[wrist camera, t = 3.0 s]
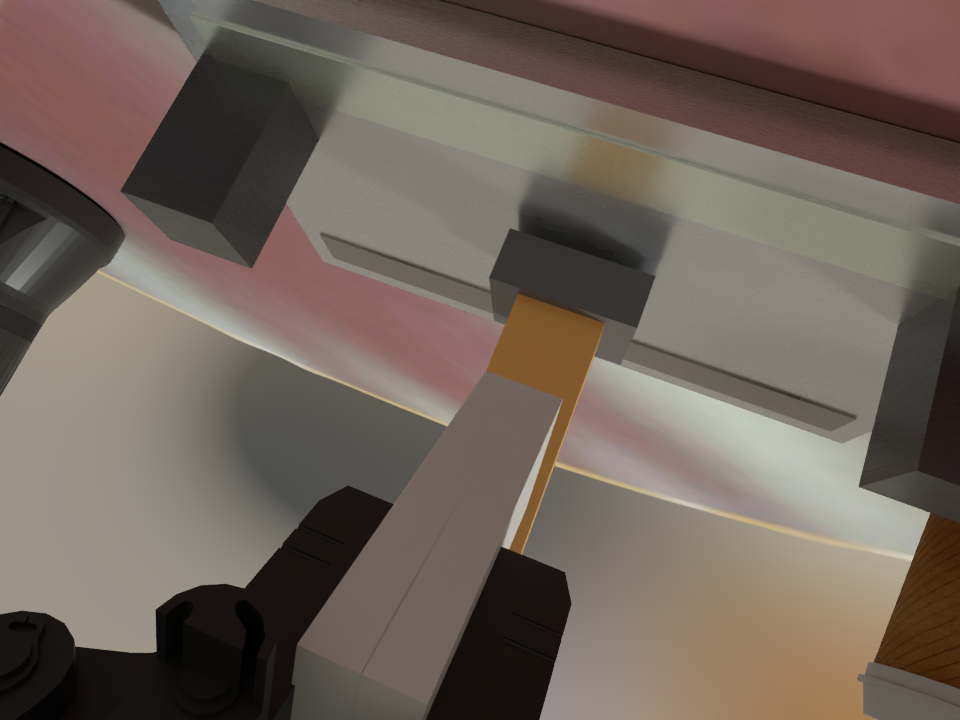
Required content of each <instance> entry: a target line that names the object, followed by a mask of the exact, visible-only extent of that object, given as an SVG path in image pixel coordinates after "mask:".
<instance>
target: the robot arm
mask: <svg viewBox="0 0 960 720" xmlns="http://www.w3.org/2000/svg"><path fill="white" fill-rule="evenodd" d="M124 239H125V234H124V232H123V230H122V229H121V228H120V226H119V225H118V224H117V223H116V222H115V221H114V220H113V219H112V218H111V217H110V216H109V215H107V214H106V213H105V212H104V211H103V210H101V209H100V208H99V207H98V206H96V205H95V204H94V203H92V202H91V201H90V200H88V199H87V198H86V197H84V196H83V195H81V194H80V193H78V192H77V191H75V190H74V189H72V188H71V187H70V186H68V185H66V184H65V183H63V182H62V181H60V180H59V179H57V178H55V177H54V176H52V175H51V174H49V173H47V172H46V171H44V170H42V169H41V168H39V167H37V166H36V165H34V164H32V163H30V162H29V161H27V160H25V159H23V158H21V157H20V156H18V155H16V154H14V153H12V152H10V151H9V150H7V149H5V148H3V147H1V146H0V396H1V394H2V392H3V391H4V389H5V387H6V386H7V384H8V382H9V381H10V379H11V377H12V376H13V374H14V372H15V370H16V369H17V367H18V365H19V363H20V362H21V360H22V359H23V357H24V355H25V353H26V352H27V350H28V348H29V347H30V345H31V343H32V341H33V340H34V338H35V337H36V335H37V333H38V332H39V330H40V328H41V327H42V325H43V324H44V322H45V320H46V319H47V317H48V316H49V315H50V313H52V312H53V311H54V310H55V309H56V308H57V307H58V306H59V305H61V304H62V303H63V302H64V301H65V300H66V299H68V297H70V296H71V295H72V294H73V293H74V292H76V291H77V290H78V289H79V288H80V287H81V286H82V285H83V284H84V283H85V282H86V281H87V280H88V279H89V278H90V277H91V276H92V275H94V273H95V272H96V271H97V270H98V269H99V268H102V267H105V266H107V265H108V264H109V263H110V262H111V261H112V259H113V258H114V256H115V255H116V253H117V251H118V249H119V248H120V246H121V244H122V243H123V241H124ZM562 401H563V399H562V398H559V397H557V396H554V395H551V394H549V393H546V392H543V391H540V390H538V389H535V388H532V387H529V386H527V385H524V384H521V383H518V382H516V381H513V380H510V379H508V378H505V377H502V376H499V375H497V374H494V373H491V372H488V371H486V372H485V373H484V375H483V376H482V378H481V379H480V380H479V382H478V383H477V385H476V386H475V388H474V389H473V391H472V392H471V393H470V395H469V396H468V398H467V399H466V401H465V402H464V404H463V405H462V407H461V408H460V409H459V411H458V412H457V414H456V415H455V417H454V418H453V420H452V421H451V422H450V424H449V425H448V427H447V428H446V430H445V431H444V433H443V434H442V435H441V437H440V438H439V440H438V441H437V443H436V444H435V446H434V447H433V448H432V450H431V451H430V453H429V454H428V456H427V457H426V459H425V460H424V462H423V463H422V465H421V466H420V468H419V469H418V470H417V472H416V473H415V475H414V476H413V477H412V479H411V481H410V482H409V483H408V485H407V486H406V488H405V489H404V490H403V492H402V493H401V495H400V496H399V498H398V499H397V501H396V502H395V504H392V503H389V502H387V501H384V500H382V499H379V498H377V497H374V496H372V495H370V494H367V493H365V492H362V491H360V490H358V489H355V488H353V487H350V486H346V487H345V488H343V489H341V490H339V491H337V492H335V493H333V494H331V495H329V496H327V497H325V498H323V499H321V500H320V501H318V503H317V504H316V505H315V506H314V507H313V509H312V510H311V511H310V512H309V513H308V515H307V516H306V517H305V518H304V519H303V520H302V522H301V523H300V524H299V527H298V529H295V530H294V531H293V532H292V534H290V536H289V537H288V538H287V539H286V540H285V542H284V543H283V545H282V547H281V549H280V548H279V549H278V550H277V551H276V552H275V553H274V555H273V556H272V557H271V558H270V559H269V560H268V562H267V563H266V564H265V565H264V566H263V567H262V569H261V570H260V571H259V572H258V573H257V575H256V576H255V577H254V578H253V579H252V581H251V582H250V583H249V584H248V585H247V586H246V588H245V589H244V588H240V587H236V586H232V585H228V584H218V585H201V586H198V587H195V588H193V589H190V590H187V591H185V592H181V593H179V594H176V595H175V596H173V597H172V598H171V599H170V600H168V601H167V602H166V603H164V604H163V605H162V606H160V607H159V608H157V609H156V638H157V639H156V640H157V641H156V642H157V652H154V653H128V652H118V651H109V650H100V649H91V648H82V647H75V643H74V638H73V637H72V635H71V634H70V632H69V630H68V628H67V627H66V625H65V624H64V623H62V622H61V621H59V620H57V619H55V618H54V617H52V616H50V615H48V614H45V613H37V612H28V611H18V612H12V613H6V614H1V615H0V720H539V719H540V715H541V711H542V708H543V704H544V701H545V697H546V694H547V690H548V686H549V683H550V679H551V675H552V672H553V668H554V663H555V660H556V657H557V654H558V650H559V647H560V643H561V638H562V635H563V632H564V629H565V625H566V621H567V618H568V614H569V610H570V607H571V599H570V595H569V590H568V585H567V580H566V575H565V572H563V571H560V570H558V569H555V568H553V567H551V566H548V565H546V564H543V563H541V562H538V561H536V560H534V559H531V558H529V557H526V556H524V555H521V554H519V553H516V552H514V551H512V550H509V548H510V546H511V544H512V541H513V539H514V537H515V534H516V532H517V529H518V527H519V525H520V522H521V520H522V517H523V515H524V513H525V510H526V508H527V505H528V502H529V499H530V496H531V493H532V490H533V487H534V484H535V481H536V478H537V475H538V472H539V469H540V466H541V463H542V460H543V457H544V454H545V451H546V448H547V445H548V442H549V439H550V436H551V433H552V430H553V427H554V424H555V421H556V418H557V415H558V412H559V409H560V406H561V403H562Z"/></svg>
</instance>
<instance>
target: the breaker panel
mask: <svg viewBox="0 0 960 720" xmlns="http://www.w3.org/2000/svg"><path fill="white" fill-rule="evenodd" d="M158 2H159V3H160V5H161V6H162V8H163V10H164V11H165V13H166V14H167V16H168V17H169V19H170V21H171V22H172V24H173V25H174V27H175V28H176V30H177V32H178V33H179V35H180V36H181V38H182V39H183V41H184V43H185V44H186V46H187V47H188V49H189V50H190V52H191V54H192V55H193V57H194V58H195V60H196V62H197V64H196V65H195V67H194V69H193V70H192V72H191V74H190V75H189V77H188V79H187V80H186V82H185V84H184V85H183V87H182V89H181V90H180V92H179V94H178V95H177V97H176V99H175V100H174V102H173V104H172V105H171V107H170V109H169V110H168V112H167V114H166V115H165V117H164V119H163V120H162V122H161V124H160V126H159V127H158V129H157V131H156V132H155V134H154V136H153V137H152V139H151V141H150V142H149V144H148V146H147V147H146V149H145V151H144V152H143V154H142V156H141V157H140V159H139V161H138V162H137V164H136V166H135V167H134V169H133V171H132V172H131V174H130V176H129V177H128V179H127V181H126V182H125V184H124V186H123V187H122V189H121V192H122V193H123V194H124V195H125V196H126V197H127V198H128V199H129V200H130V201H131V202H132V203H133V204H134V205H135V206H136V207H137V208H138V209H139V210H141V211H142V212H143V213H144V214H145V215H146V216H147V217H148V218H149V219H150V220H151V221H152V222H153V223H154V224H155V225H156V226H157V227H158V228H159V229H160V230H161V231H162V232H164V233H165V234H166V235H167V236H168V237H169V238H170V239H171V240H173V241H176V242H179V243H182V244H185V245H187V246H190V247H193V248H196V249H198V250H201V251H204V252H207V253H210V254H212V255H215V256H218V257H221V258H224V259H226V260H229V261H232V262H235V263H237V264H240V265H243V266H246V267H249V268H251V269H252V267H253V265H254V263H255V261H256V260H257V258H258V256H259V254H260V252H261V250H262V248H263V246H264V244H265V242H266V240H267V239H268V237H269V235H270V233H271V231H272V229H273V227H274V225H275V223H276V221H277V219H278V217H279V216H280V214H281V212H282V210H283V208H284V206H285V204H286V203H287V205H288V207H289V208H290V210H291V211H292V213H293V214H294V216H295V218H296V219H297V221H298V222H299V224H300V225H301V227H302V229H303V230H304V232H305V233H306V235H307V236H308V238H309V240H310V241H311V243H312V244H313V246H314V247H315V249H316V251H317V252H318V254H319V255H320V257H321V259H322V260H323V261H324V262H327V263H329V264H332V265H335V266H338V267H341V268H344V269H347V270H349V271H352V272H355V273H358V274H361V275H364V276H367V277H369V278H372V279H375V280H378V281H381V282H384V283H386V284H389V285H392V286H395V287H398V288H401V289H404V290H406V291H409V292H412V293H415V294H418V295H421V296H424V297H426V298H429V299H432V300H435V301H438V302H441V303H443V304H446V305H449V306H452V307H455V308H458V309H461V310H463V311H466V312H469V313H472V314H475V315H478V316H481V317H483V318H486V319H489V320H492V321H494V316H493V308H492V299H491V291H490V282H489V277H490V274H491V272H492V269H493V267H494V265H495V262H496V260H497V258H498V255H499V253H500V250H501V248H502V246H503V243H504V241H505V239H506V236H507V234H508V231H509V229H510V228H511V229H514V230H517V231H520V232H523V233H526V234H529V235H532V236H535V237H538V238H541V239H544V240H547V241H550V242H554V243H557V244H560V245H563V246H566V247H569V248H572V249H575V250H578V251H581V252H584V253H587V254H590V255H593V256H596V257H599V258H603V259H606V260H609V261H612V262H615V263H618V264H621V265H624V266H627V267H630V268H633V269H636V270H639V271H642V272H645V273H648V274H652V275H655V276H656V277H655V279H654V282H653V285H652V288H651V291H650V294H649V296H648V299H647V302H646V305H645V308H644V311H643V313H642V316H641V319H640V322H639V325H638V328H637V330H636V332H635V334H634V337H633V339H632V341H631V343H630V345H629V348H628V350H627V352H626V354H625V356H624V359H623V361H622V363H621V365H620V366H623V367H626V368H629V369H632V370H634V371H637V372H640V373H643V374H646V375H649V376H652V377H654V378H657V379H660V380H663V381H666V382H669V383H672V384H674V385H677V386H680V387H683V388H686V389H689V390H691V391H694V392H697V393H700V394H703V395H706V396H709V397H711V398H714V399H717V400H720V401H723V402H726V403H729V404H731V405H734V406H737V407H740V408H743V409H746V410H748V411H751V412H754V413H757V414H760V415H763V416H766V417H768V418H771V419H774V420H777V421H780V422H783V423H786V424H788V425H791V426H794V427H797V428H800V429H803V430H805V431H808V432H811V433H814V434H817V435H820V436H823V437H825V438H828V439H831V440H834V441H837V442H840V443H844V442H846V441H849V440H851V439H853V438H856V437H858V436H860V435H863V434H865V433H868V432H870V431H872V434H871V438H870V442H869V447H868V451H867V455H866V459H865V463H864V467H863V471H862V475H861V479H860V483H859V487H861V488H863V489H866V490H869V491H872V492H875V493H877V494H880V495H883V496H886V497H889V498H891V499H894V500H897V501H900V502H902V503H905V504H908V505H911V506H914V507H916V508H919V509H922V510H925V511H927V512H930V513H933V514H936V515H939V516H941V517H944V518H947V519H950V520H953V521H955V522H958V523H960V143H956V142H952V141H949V140H945V139H941V138H938V137H934V136H930V135H927V134H923V133H920V132H916V131H912V130H909V129H905V128H901V127H898V126H894V125H890V124H887V123H883V122H880V121H876V120H872V119H869V118H865V117H861V116H858V115H854V114H850V113H847V112H843V111H840V110H836V109H832V108H829V107H825V106H821V105H818V104H814V103H810V102H807V101H803V100H800V99H796V98H792V97H789V96H785V95H781V94H778V93H774V92H770V91H767V90H763V89H760V88H756V87H752V86H749V85H745V84H741V83H738V82H734V81H730V80H727V79H723V78H719V77H716V76H712V75H709V74H705V73H701V72H698V71H694V70H690V69H687V68H683V67H679V66H676V65H672V64H669V63H665V62H661V61H658V60H654V59H650V58H647V57H643V56H639V55H636V54H632V53H629V52H625V51H621V50H618V49H614V48H610V47H607V46H603V45H599V44H596V43H592V42H589V41H585V40H581V39H578V38H574V37H570V36H567V35H563V34H559V33H556V32H552V31H549V30H545V29H541V28H538V27H534V26H530V25H527V24H523V23H519V22H516V21H512V20H509V19H505V18H501V17H498V16H494V15H490V14H487V13H483V12H479V11H476V10H472V9H469V8H465V7H461V6H458V5H454V4H450V3H447V2H443V1H439V0H158ZM495 322H496V321H495ZM498 323H499V322H498ZM500 324H502V323H500ZM503 325H505V324H503ZM595 357H596V356H595ZM597 358H599V357H597ZM600 359H602V358H600ZM603 360H605V359H603ZM606 361H608V360H606ZM609 362H610V361H609ZM612 363H613V362H612ZM615 364H616V363H615ZM617 365H619V364H617Z"/></svg>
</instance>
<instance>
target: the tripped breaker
mask: <svg viewBox="0 0 960 720" xmlns="http://www.w3.org/2000/svg"><path fill="white" fill-rule="evenodd" d="M655 277H656V276H655V275H652V274H648V273H645V272H642V271H639V270H636V269H633V268H630V267H627V266H624V265H621V264H618V263H615V262H612V261H609V260H606V259H603V258H599V257H596V256H593V255H590V254H587V253H584V252H581V251H578V250H575V249H572V248H569V247H566V246H563V245H560V244H557V243H554V242H550V241H547V240H544V239H541V238H538V237H535V236H532V235H529V234H526V233H523V232H520V231H517V230H514V229H511V228H510V229H509V231H508V234H507V236H506V239H505V241H504V243H503V246H502V248H501V250H500V253H499V255H498V258H497V260H496V262H495V265H494V267H493V269H492V272H491V274H490V277H489V282H490V291H491V299H492V308H493V316H494V321H496V322H499V323H502V324H505V327H504V329H503V331H502V334H501V336H500V339H499V341H498V344H497V346H496V349H495V351H494V354H493V356H492V358H491V361H490V363H489V366H488V368H487V371H488V372H491V373H494V374H497V375H499V376H502V377H505V378H508V379H510V380H513V381H516V382H518V383H521V384H524V385H527V386H529V387H532V388H535V389H538V390H540V391H543V392H546V393H549V394H551V395H554V396H557V397H559V398H562V399H563V401H562V403H561V406H560V409H559V412H558V415H557V418H556V421H555V424H554V427H553V430H552V433H551V436H550V439H549V442H548V445H547V448H546V451H545V454H544V457H543V460H542V463H541V466H540V469H539V472H538V475H537V478H536V481H535V484H534V487H533V490H532V493H531V496H530V499H529V502H528V505H527V508H526V510H525V513H524V515H523V517H522V520H521V522H520V525H519V527H518V529H517V532H516V534H515V537H514V539H513V541H512V544H511V546H510V548H509V550H512V551H514V552H516V553H519V554H521V555H522V553H523V550H524V547H525V544H526V542H527V539H528V536H529V533H530V530H531V528H532V525H533V523H534V520H535V517H536V514H537V511H538V509H539V506H540V503H541V500H542V498H543V495H544V493H545V489H546V487H547V484H548V482H549V479H550V476H551V473H552V471H553V468H554V465H555V462H556V460H557V457H558V454H559V451H560V449H561V446H562V443H563V441H564V438H565V435H566V432H567V430H568V427H569V424H570V421H571V419H572V416H573V413H574V410H575V408H576V405H577V402H578V400H579V397H580V394H581V391H582V389H583V386H584V383H585V380H586V378H587V375H588V372H589V369H590V367H591V364H592V361H593V359H594V356H596V357H599V358H602V359H605V360H608V361H610V362H613V363H616V364H619V365H621V363H622V361H623V359H624V356H625V354H626V352H627V350H628V348H629V345H630V343H631V341H632V339H633V337H634V334H635V332H636V330H637V328H638V325H639V322H640V319H641V316H642V313H643V311H644V308H645V305H646V302H647V299H648V296H649V294H650V291H651V288H652V285H653V282H654V279H655Z"/></svg>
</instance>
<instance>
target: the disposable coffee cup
mask: <svg viewBox="0 0 960 720" xmlns="http://www.w3.org/2000/svg"><path fill="white" fill-rule="evenodd" d="M857 679H858V680H859V681H861V682H863V684H864V685H863V686H864V687H863V690H864V691H863V695H864V696H863V697H864V701H863V705H864V706H863V710H864V711H863V713H864V714H865V715H867V716H870V717H872V718H874V719H877V720H960V523H958V522H955V521H953V520H950V519H947V518H944V517H941V516H939V515H936V514H933V513H930V516H929V518H928V521H927V523H926V526H925V529H924V531H923V534H922V536H921V539H920V542H919V545H918V547H917V549H916V553H915V555H914V558H913V560H912V563H911V566H910V568H909V571H908V573H907V576H906V579H905V582H904V584H903V587H902V589H901V593H900V595H899V597H898V600H897V602H896V605H895V608H894V611H893V613H892V616H891V619H890V621H889V624H888V626H887V629H886V632H885V634H884V637H883V640H882V642H881V645H880V648H879V651H878V653H877V655H876V658H875V660H874V663H872V662H869V663H868V666H867V670H866V673H865V675H861V674H859V676H858V678H857Z"/></svg>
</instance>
